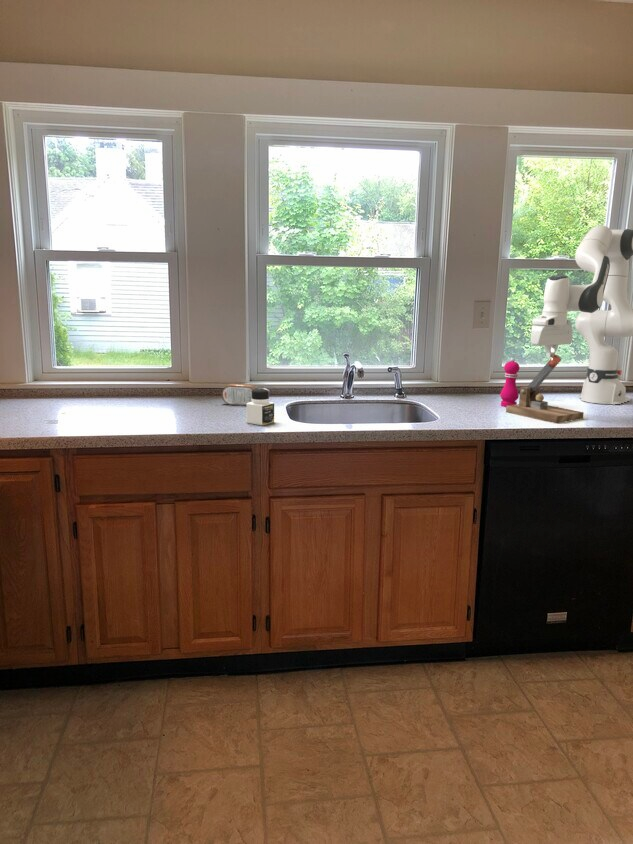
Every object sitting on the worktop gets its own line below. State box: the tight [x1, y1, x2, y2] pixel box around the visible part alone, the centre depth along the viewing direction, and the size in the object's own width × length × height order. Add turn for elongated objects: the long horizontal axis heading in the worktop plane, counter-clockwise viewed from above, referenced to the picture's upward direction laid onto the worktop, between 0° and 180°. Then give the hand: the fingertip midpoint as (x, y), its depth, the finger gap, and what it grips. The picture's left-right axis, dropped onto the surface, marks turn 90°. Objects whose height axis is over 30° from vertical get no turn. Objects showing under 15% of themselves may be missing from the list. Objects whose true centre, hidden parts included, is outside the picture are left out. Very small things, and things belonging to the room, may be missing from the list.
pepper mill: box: [499, 357, 520, 408], centre depth 258 cm, size 7×7×20 cm
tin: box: [221, 383, 257, 407], centre depth 252 cm, size 15×3×8 cm, turn 80°
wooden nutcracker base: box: [505, 386, 584, 424], centre depth 242 cm, size 16×23×10 cm
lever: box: [527, 354, 562, 396], centre depth 242 cm, size 21×3×3 cm
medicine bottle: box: [245, 387, 275, 426], centre depth 221 cm, size 7×7×12 cm
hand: (550, 357), depth 237 cm, fingers closed
